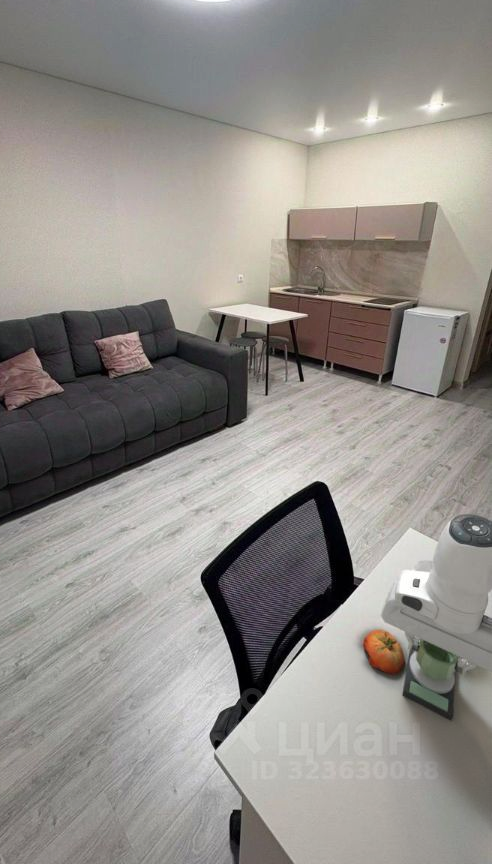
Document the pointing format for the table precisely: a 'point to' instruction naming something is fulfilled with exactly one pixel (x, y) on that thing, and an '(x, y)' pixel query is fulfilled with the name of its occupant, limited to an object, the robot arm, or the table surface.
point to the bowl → (436, 660)
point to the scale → (429, 689)
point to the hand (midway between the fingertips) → (435, 658)
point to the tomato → (384, 651)
